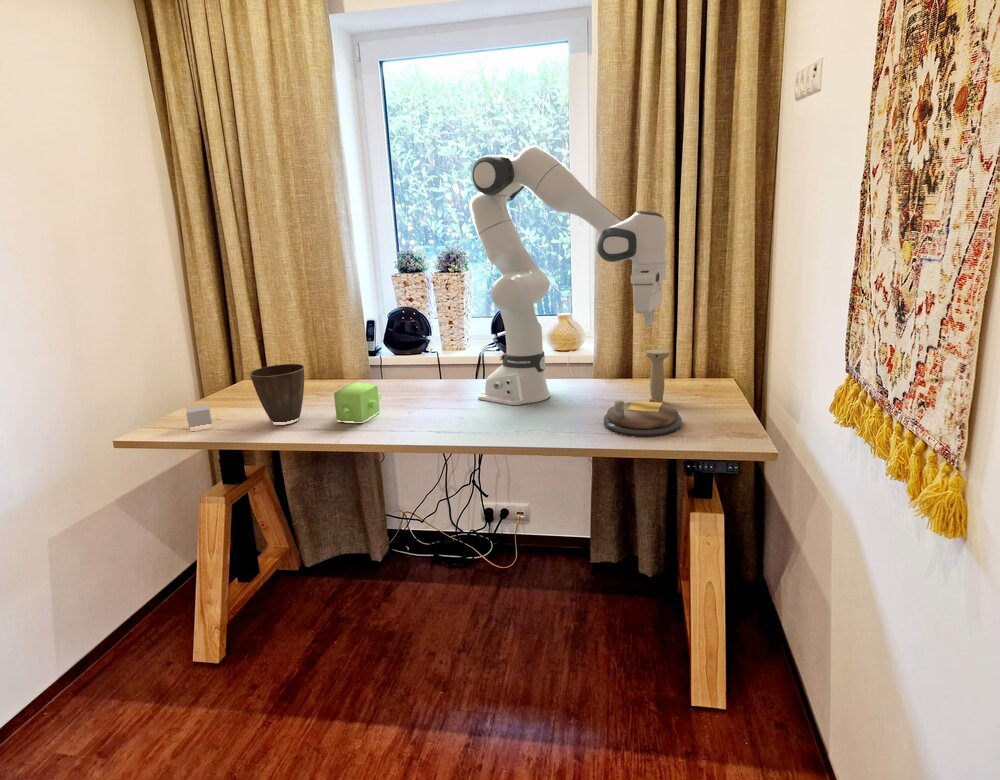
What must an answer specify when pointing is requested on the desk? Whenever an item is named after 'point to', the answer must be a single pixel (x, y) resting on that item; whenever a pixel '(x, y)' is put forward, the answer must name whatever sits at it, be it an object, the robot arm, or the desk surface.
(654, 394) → the handle
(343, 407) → the gearbox
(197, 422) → the grey cube
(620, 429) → the wheel base
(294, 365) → the plant pot
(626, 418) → the disc
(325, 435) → the desk surface
